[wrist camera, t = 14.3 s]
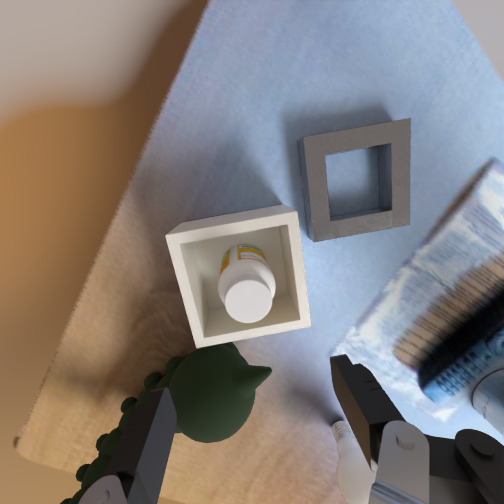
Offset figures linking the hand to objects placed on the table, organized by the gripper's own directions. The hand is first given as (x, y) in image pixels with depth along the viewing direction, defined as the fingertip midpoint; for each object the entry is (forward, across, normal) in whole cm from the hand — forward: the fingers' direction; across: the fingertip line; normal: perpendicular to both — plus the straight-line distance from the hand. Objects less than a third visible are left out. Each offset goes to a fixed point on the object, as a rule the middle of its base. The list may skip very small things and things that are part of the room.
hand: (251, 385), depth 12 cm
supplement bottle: (+19, 0, 0) cm, 19 cm away
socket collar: (+19, -14, -7) cm, 25 cm away
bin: (+19, 0, 0) cm, 19 cm away
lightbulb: (+20, -10, +29) cm, 36 cm away
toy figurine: (+20, +10, +14) cm, 26 cm away
